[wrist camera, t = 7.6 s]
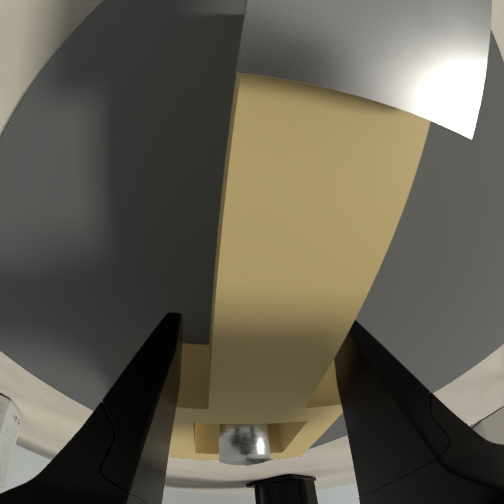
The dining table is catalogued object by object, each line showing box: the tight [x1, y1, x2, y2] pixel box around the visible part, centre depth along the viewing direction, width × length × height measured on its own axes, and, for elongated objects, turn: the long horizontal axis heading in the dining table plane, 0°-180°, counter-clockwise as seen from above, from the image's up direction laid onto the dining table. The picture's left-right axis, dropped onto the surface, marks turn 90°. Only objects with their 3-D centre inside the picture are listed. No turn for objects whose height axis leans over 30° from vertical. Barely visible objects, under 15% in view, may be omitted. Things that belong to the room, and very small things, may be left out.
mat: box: [0, 0, 504, 461], centre depth 11 cm, size 24×25×1 cm
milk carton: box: [473, 407, 504, 444], centre depth 25 cm, size 7×7×19 cm
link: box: [169, 73, 431, 460], centre depth 8 cm, size 16×6×3 cm, turn 172°
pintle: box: [218, 424, 271, 465], centre depth 11 cm, size 2×2×3 cm
